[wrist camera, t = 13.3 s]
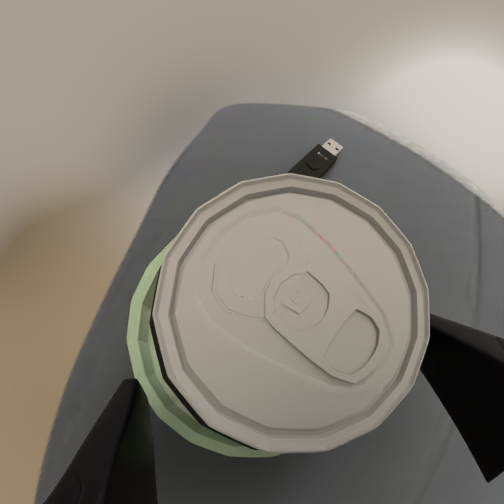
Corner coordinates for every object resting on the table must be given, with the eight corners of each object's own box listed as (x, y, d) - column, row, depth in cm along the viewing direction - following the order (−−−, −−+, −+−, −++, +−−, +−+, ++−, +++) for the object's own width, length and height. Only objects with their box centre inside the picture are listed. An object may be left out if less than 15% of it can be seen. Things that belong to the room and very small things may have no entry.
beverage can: (242, 265, 18) (279, 118, 7) (325, 332, 17) (472, 280, 6) (169, 344, 16) (68, 313, 5) (256, 417, 15) (328, 518, 4)
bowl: (304, 454, 15) (328, 479, 10) (121, 386, 15) (92, 393, 11) (361, 284, 19) (395, 264, 15) (197, 219, 19) (192, 182, 15)
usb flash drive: (325, 141, 23) (328, 133, 22) (343, 154, 23) (347, 147, 22) (270, 192, 21) (272, 185, 20) (291, 209, 20) (294, 202, 19)
